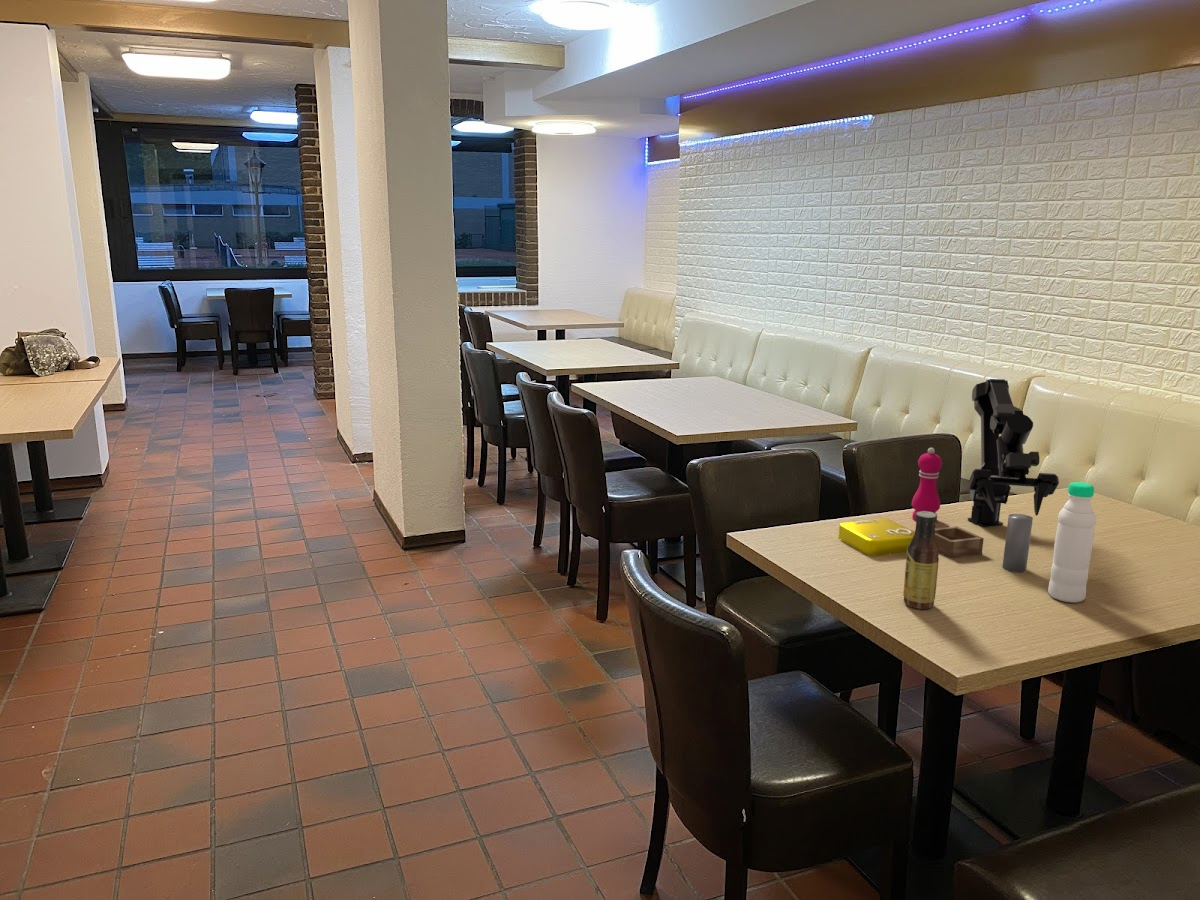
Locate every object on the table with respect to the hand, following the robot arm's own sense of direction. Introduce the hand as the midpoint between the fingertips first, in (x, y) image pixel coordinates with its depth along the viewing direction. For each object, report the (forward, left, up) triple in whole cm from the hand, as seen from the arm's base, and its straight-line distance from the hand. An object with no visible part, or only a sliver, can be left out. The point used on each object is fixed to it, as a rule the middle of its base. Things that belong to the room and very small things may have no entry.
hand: (1015, 513), depth 209 cm
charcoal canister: (+2, +4, -12) cm, 13 cm away
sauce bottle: (+37, +15, -12) cm, 42 cm away
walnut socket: (+7, -11, -12) cm, 18 cm away
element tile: (+22, -20, -13) cm, 33 cm away
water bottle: (+4, +21, -12) cm, 25 cm away
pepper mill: (-2, -33, -12) cm, 35 cm away
